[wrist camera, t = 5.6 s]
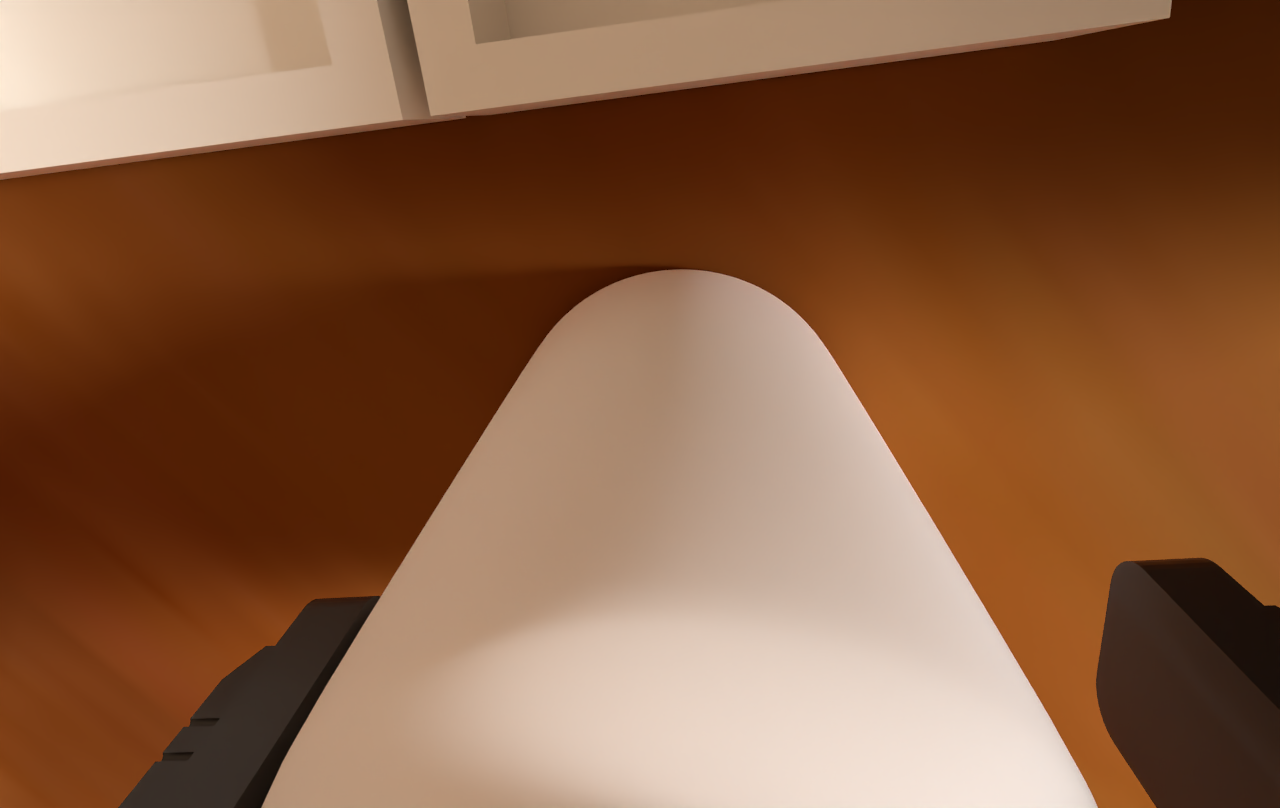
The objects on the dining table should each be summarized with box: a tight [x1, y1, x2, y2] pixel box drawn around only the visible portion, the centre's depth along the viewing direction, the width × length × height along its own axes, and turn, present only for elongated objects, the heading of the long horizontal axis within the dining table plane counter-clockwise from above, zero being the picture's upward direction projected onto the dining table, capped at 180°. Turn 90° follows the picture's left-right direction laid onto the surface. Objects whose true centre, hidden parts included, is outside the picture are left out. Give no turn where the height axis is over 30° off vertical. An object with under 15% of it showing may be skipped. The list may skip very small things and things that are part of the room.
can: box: [261, 269, 1098, 808], centre depth 10 cm, size 6×6×12 cm
